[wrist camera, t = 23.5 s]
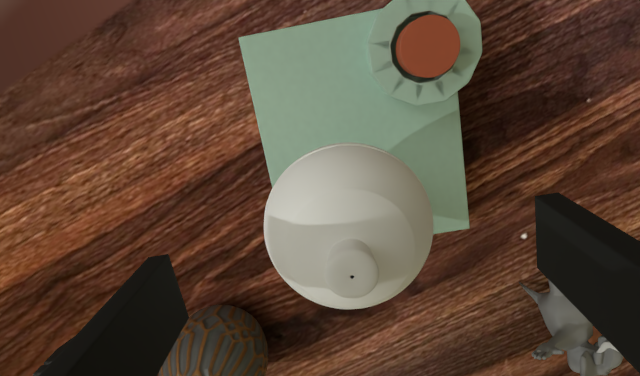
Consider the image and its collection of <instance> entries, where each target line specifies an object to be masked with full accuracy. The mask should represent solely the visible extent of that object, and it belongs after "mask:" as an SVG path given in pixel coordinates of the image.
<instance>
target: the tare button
mask: <svg viewBox="0 0 640 376" xmlns="http://www.w3.org/2000/svg"><path fill="white" fill-rule="evenodd" d="M459 51H460V37H459V33H458V31H457V29H456V27H455V26H454V24H453V23H452V22H451V21H450V20H448V19H447V18H445V17H443V16H440V15H425V16H422V17H419V18H418V19H416V20H414V21H412V22H410V23H409V24H408V25H407V26H405V27H404V29H403V30H402V31H401V33H400V34H399V36H398V39H397V42H396V57H397V60H398V62H399V64H400V66H401V67H402V68H403V69H404V70H405V71H406V72H407V73H409V74H411V75H413V76H416V77H423V78H432V77H437V76H439V75H441V74H443V73H445V72H446V71H448V70H449V69H450V68H451V67H452V65H453V64H454V63H455V61H456V59H457V57H458V55H459Z"/></svg>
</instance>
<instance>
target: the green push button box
mask: <svg viewBox="0 0 640 376" xmlns="http://www.w3.org/2000/svg"><path fill="white" fill-rule="evenodd" d="M425 15H440V16H443V17H445V18H447V19H448V20H450V21H451V22H452V23H453V24H454V26H455V27H456V29H457V31H458V33H459V37H460V51H459V55H458V57H457V59H456V61H455V63H454V64H453V65H452V67H451V68H450V69H449V70H448V71H446V72H445V73H443V74H441V75H439V76H437V77H432V78H423V77H416V76H413V75H411V74H409V73H407V72H406V71H405V70H404V69H403V68H402V67H401V66H400V64H399V62H398V60H397V57H396V42H397V39H398V36H399V34H400V33H401V31H402V30H403V29H404V27H405V26H407V25H408V24H409V23H410V22H412V21H414V20H416V19H418V18H419V17H422V16H425ZM239 42H240V47H241V51H242V56H243V60H244V65H245V69H246V73H247V78H248V82H249V87H250V91H251V96H252V100H253V104H254V109H255V113H256V118H257V122H258V126H259V131H260V135H261V140H262V144H263V149H264V153H265V157H266V162H267V166H268V171H269V175H270V180H271V184H272V188H273V186H274V185H275V183H276V181H277V180H278V178H279V177H280V176H281V174H282V173H283V172H284V171H285V170H286V169H287V168H288V167H289V166H290V165H291V164H292V163H293V162H295V161H296V160H297V159H298V158H300V157H301V156H303V155H304V154H306V153H308V152H310V151H312V150H314V149H316V148H319V147H322V146H325V145H329V144H334V143H342V142H354V143H362V144H367V145H371V146H375V147H377V148H380V149H382V150H385V151H387V152H389V153H390V154H392V155H394V156H395V157H397V158H398V159H400V160H401V161H402V162H404V163H405V164H406V165H407V166H408V167H409V168H410V169H411V170H412V171H413V172H414V173H415V175H416V176H417V177H418V179H419V180H420V182H421V183H422V185H423V187H424V188H425V191H426V193H427V195H428V198H429V201H430V205H431V209H432V214H433V234H436V233H443V232H449V231H456V230H462V229H469V228H470V226H469V214H468V203H467V191H466V180H465V169H464V157H463V146H462V134H461V123H460V112H459V100H458V91H459V90H460V89H461V88H462V87H464V86H465V85H466V84H467V83H469V81H470V79H471V77H472V75H473V72H474V70H475V68H476V66H477V64H478V61H479V59H480V57H481V55H482V38H481V24H480V20H479V19H478V17H477V16H476V14H475V13H474V11H473V10H472V9H471V7H470V6H469V4H468V3H467V1H466V0H392V1H391V2H390V3H389V4H388V5H386V6H385V7H384V8H382V9H377V10H372V11H367V12H362V13H358V14H353V15H348V16H343V17H338V18H333V19H328V20H323V21H318V22H313V23H308V24H303V25H298V26H293V27H288V28H283V29H278V30H273V31H268V32H263V33H258V34H253V35H248V36H243V37H239Z"/></svg>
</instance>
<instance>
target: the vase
mask: <svg viewBox="0 0 640 376" xmlns="http://www.w3.org/2000/svg"><path fill="white" fill-rule="evenodd" d="M267 365H268V347H267V342H266V337H265V334H264V332H263V330H262V328H261V326H260V324H259V323H258V322H257V320H256V319H255V318H254V317H253V316H251V315H250V314H249V313H248V312H246V311H244V310H243V309H240V308H238V307H235V306H230V305H213V306H209V307H206V308H204V309H201V310H199V311H197V312H196V313H194V314H193V315H191V316H190V317H189V319H188V320H187V322H186V324H185V326H184V328H183V329H182V331H181V333H180V335H179V336H178V338H177V340H176V342H175V344H174V345H173V347H172V349H171V351H170V353H169V354H168V356H167V358H166V360H165V362H164V363H163V365H162V367H161V369H160V371H159V376H266V371H267Z"/></svg>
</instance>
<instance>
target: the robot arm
mask: <svg viewBox="0 0 640 376" xmlns="http://www.w3.org/2000/svg"><path fill="white" fill-rule="evenodd" d="M535 213H536V245H537V268H538V269H539V270H540V271H541V272H542V273H543V274H544V275H545V276H546V277H547V278H548V279H549V280H550V281H551V282H552V283H553V284H554V286H555V287H556V288H557V289H558V290H559V291H560V292H561V293H562V294H563V295H564V296H565V297H566V298H567V299H568V300H569V301H570V302H571V303H572V304H573V305H574V306H575V307H576V308H577V309H578V310H579V311H580V312H581V313H582V314H583V315H584V316H585V317H586V318H587V319H588V321H589V322H590V323H591V324H592V325H593V326H594V327H595V328H596V329H597V330H598V331H599V332H600V333H601V334H602V335H603V336H604V337H605V338H606V339H607V340H608V341H609V342H610V343H611V344H612V345H613V346H614V347H615V348H616V349H617V350H618V351H619V352H620V353H621V354H622V355H623V357H624V358H625V359H626V360H627V361H628V362H629V363H630V364H631V365H632V366H633V367H634V368H635V369H636V370H637V371H638V372H639V373H640V241H638V240H636V239H635V238H633V237H631V236H630V235H628V234H626V233H625V232H623V231H621V230H620V229H618V228H616V227H615V226H613V225H611V224H610V223H608V222H606V221H605V220H603V219H601V218H600V217H598V216H596V215H595V214H593V213H591V212H590V211H588V210H586V209H585V208H583V207H581V206H580V205H578V204H576V203H575V202H573V201H571V200H570V199H568V198H566V197H565V196H563V195H561V194H560V193H553V194H546V195H540V196H535ZM188 319H189V317H188V313H187V310H186V307H185V304H184V301H183V298H182V295H181V292H180V289H179V286H178V283H177V280H176V276H175V273H174V270H173V267H172V264H171V261H170V258H169V255H168V254H167V255H160V256H154V257H148V259H147V260H146V261H145V262H144V263H143V264H142V265H141V266H140V267H139V268H138V269H137V270H136V271H135V273H134V274H133V275H132V276H131V277H130V278H129V279H128V280H127V281H126V282H125V283H124V284H123V285H122V287H121V288H120V289H119V290H118V291H117V292H116V293H115V294H114V295H113V296H112V297H111V298H110V299H109V301H108V302H107V303H106V304H105V305H104V306H103V307H102V308H101V309H100V310H99V311H98V312H97V313H96V315H95V316H94V317H93V318H92V319H91V320H90V321H89V322H88V323H87V324H86V325H85V326H84V327H83V329H82V330H81V331H80V332H79V333H78V334H77V335H76V336H75V337H73V338H72V339H70V340H69V341H68V342H66V343H65V344H64V345H62V346H61V347H59V348H58V349H57V350H56V351H55V352H54V353H53V354H52V355H51V356H50V357H49V358H48V359H47V360H46V361H45V362H44V365H42V366H40V368H39V369H38V370H37V371H36V372H35V373H34V374H33V376H157V374H158V372H159V371H160V369H161V367H162V365H163V363H164V362H165V360H166V358H167V356H168V354H169V353H170V351H171V349H172V347H173V345H174V344H175V342H176V340H177V338H178V336H179V335H180V333H181V331H182V329H183V328H184V326H185V324H186V322H187V320H188Z"/></svg>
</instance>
